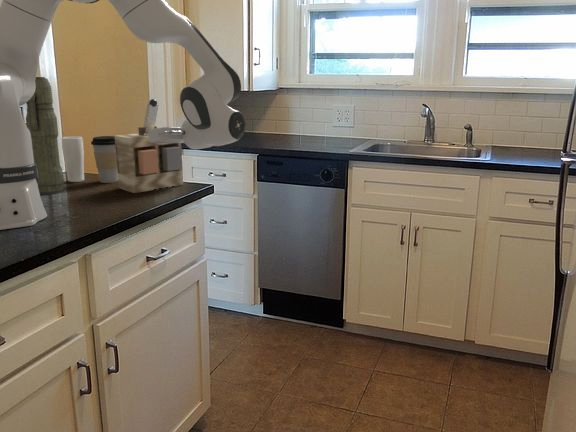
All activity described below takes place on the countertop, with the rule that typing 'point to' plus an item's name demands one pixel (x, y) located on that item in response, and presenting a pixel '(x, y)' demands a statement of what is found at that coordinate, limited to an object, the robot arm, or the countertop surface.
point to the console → (129, 167)
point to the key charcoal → (171, 158)
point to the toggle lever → (150, 115)
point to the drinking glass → (73, 157)
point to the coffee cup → (105, 158)
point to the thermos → (44, 138)
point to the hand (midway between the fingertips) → (165, 138)
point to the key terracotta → (147, 161)
